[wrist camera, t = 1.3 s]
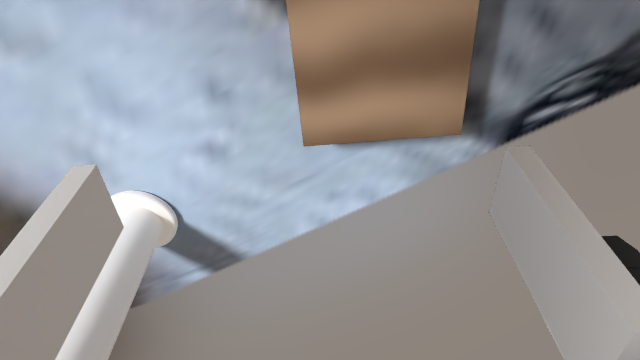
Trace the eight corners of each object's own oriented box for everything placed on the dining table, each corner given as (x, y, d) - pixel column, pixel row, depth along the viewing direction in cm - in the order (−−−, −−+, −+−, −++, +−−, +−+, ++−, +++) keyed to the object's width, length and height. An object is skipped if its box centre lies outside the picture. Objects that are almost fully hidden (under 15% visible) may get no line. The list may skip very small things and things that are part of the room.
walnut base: (286, -36, 28) (283, -24, 25) (465, -53, 28) (485, -43, 25) (304, 121, 35) (303, 146, 32) (447, 110, 35) (461, 134, 32)
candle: (107, 180, 38) (-121, 522, 18) (184, 202, 40) (53, 538, 20) (100, 232, 42) (-95, 562, 22) (171, 250, 44) (50, 573, 24)
